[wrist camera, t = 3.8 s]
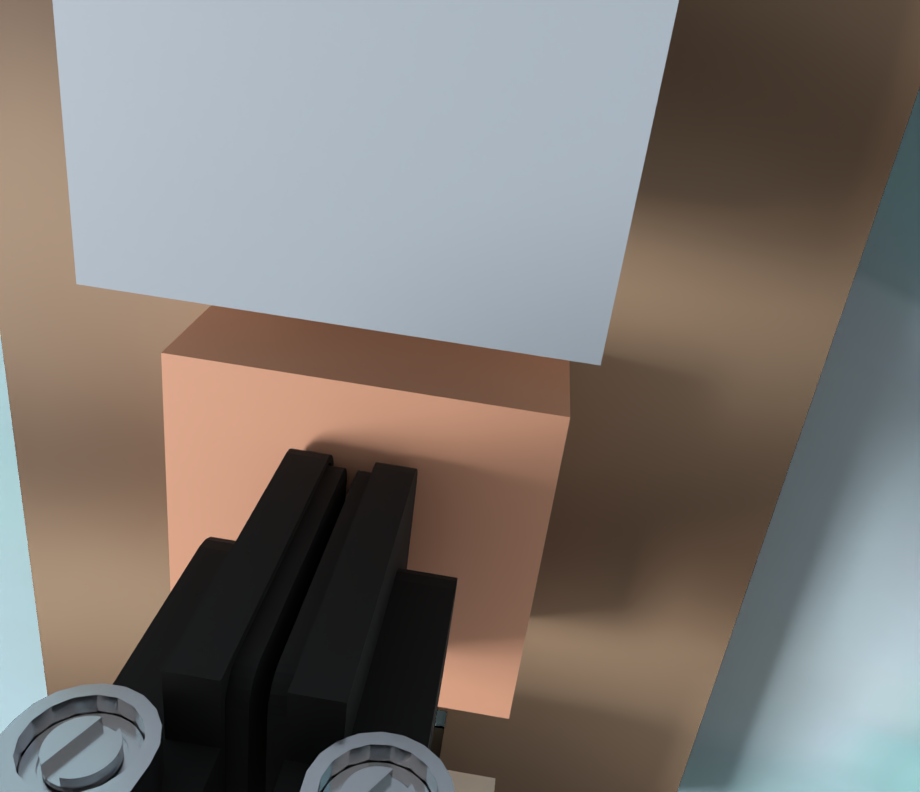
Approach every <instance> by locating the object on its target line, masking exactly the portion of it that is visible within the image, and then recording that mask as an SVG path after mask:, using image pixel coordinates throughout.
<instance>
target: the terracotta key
mask: <svg viewBox="0 0 920 792" xmlns="http://www.w3.org/2000/svg"><path fill="white" fill-rule="evenodd" d="M161 362H162V388H163V413H164V439H165V465H166V490H167V516H168V541H169V567H170V592H171V591H172V589H173V588H174V586H175V584H176V583H177V581H178V580H179V578H180V576H181V575H182V573H183V572H184V570H185V568H186V567H187V565H188V564H189V562H190V561H191V559H192V557H193V556H194V554H195V553H196V551H197V549H198V548H199V546H200V545H201V544H202V543H203V541H204V540H205V539H207V538H209V537H216V538H222V539H228V540H234V541H236V540H237V538H238V536H239V535H240V533H241V531H242V529H243V528H244V526H245V524H246V522H247V521H248V519H249V517H250V515H251V514H252V512H253V510H254V508H255V507H256V505H257V503H258V501H259V500H260V498H261V496H262V494H263V493H264V491H265V489H266V487H267V486H268V484H269V482H270V480H271V479H272V477H273V475H274V473H275V472H276V470H277V468H278V466H279V465H280V463H281V461H282V459H283V458H284V456H285V454H286V453H287V451H288V450H289V449H291V448H293V449H299V450H305V451H311V452H317V453H324V454H330V455H332V456H333V461H334V466H335V467H341V468H346V470H347V483H346V497H347V495H348V492H349V490H350V487H351V485H352V483H353V480H354V478H355V475H356V473H357V471H359V470H360V471H366V472H372V470H373V467H374V465H375V463H376V462H379V463H386V464H392V465H398V466H404V467H410V468H416V469H417V470H418V474H417V485H416V494H415V503H414V511H413V520H412V528H411V537H410V546H409V554H408V563H407V569H408V570H414V571H420V572H426V573H432V574H438V575H444V576H450V577H456V578H458V581H457V588H456V595H455V601H454V608H453V614H452V621H451V628H450V634H449V640H448V647H447V653H446V659H445V665H444V672H443V678H442V684H441V690H440V695H439V701H438V707H443V708H449V709H455V710H460V711H466V712H472V713H478V714H484V715H489V716H495V717H501V718H507V719H509V716H510V711H511V706H512V701H513V696H514V691H515V686H516V681H517V677H518V672H519V667H520V662H521V657H522V652H523V647H524V642H525V637H526V632H527V627H528V623H529V618H530V613H531V608H532V603H533V598H534V593H535V588H536V583H537V578H538V573H539V569H540V564H541V559H542V554H543V549H544V544H545V539H546V534H547V529H548V524H549V519H550V515H551V510H552V505H553V500H554V495H555V490H556V485H557V480H558V475H559V470H560V465H561V461H562V456H563V451H564V446H565V441H566V436H567V431H568V426H569V421H570V364H569V361H568V360H562V359H556V358H549V357H543V356H536V355H530V354H523V353H517V352H510V351H504V350H498V349H491V348H485V347H478V346H472V345H465V344H459V343H453V342H446V341H440V340H433V339H427V338H420V337H414V336H407V335H401V334H395V333H388V332H382V331H375V330H369V329H362V328H356V327H349V326H343V325H337V324H330V323H324V322H317V321H311V320H304V319H298V318H291V317H285V316H279V315H272V314H266V313H259V312H253V311H246V310H240V309H233V308H227V307H221V306H214V305H211V306H210V307H209V308H208V309H207V310H206V311H205V312H204V313H203V314H202V315H201V316H199V317H198V318H197V319H196V320H195V321H194V322H193V323H192V324H191V325H190V326H189V327H188V328H187V329H186V330H185V331H184V332H183V333H182V334H180V335H179V336H178V337H177V338H176V339H175V340H174V341H173V342H172V343H171V344H170V345H169V346H168V347H167V348H166V349H165V350H164V351H162V352H161ZM346 497H345V500H346Z"/></svg>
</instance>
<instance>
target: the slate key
mask: <svg viewBox="0 0 920 792" xmlns="http://www.w3.org/2000/svg"><path fill="white" fill-rule="evenodd" d="M52 2H53V13H54V25H55V37H56V49H57V61H58V73H59V84H60V96H61V108H62V120H63V132H64V143H65V155H66V167H67V179H68V191H69V203H70V214H71V226H72V238H73V250H74V262H75V274H76V284H79V285H85V286H92V287H98V288H105V289H111V290H117V291H124V292H130V293H137V294H143V295H150V296H156V297H163V298H169V299H175V300H182V301H188V302H195V303H201V304H208V305H214V306H221V307H227V308H233V309H240V310H246V311H253V312H259V313H266V314H272V315H279V316H285V317H291V318H298V319H304V320H311V321H317V322H324V323H330V324H337V325H343V326H349V327H356V328H362V329H369V330H375V331H382V332H388V333H395V334H401V335H407V336H414V337H420V338H427V339H433V340H440V341H446V342H453V343H459V344H465V345H472V346H478V347H485V348H491V349H498V350H504V351H510V352H517V353H523V354H530V355H536V356H543V357H549V358H556V359H562V360H568V361H575V362H581V363H588V364H594V365H601V361H602V356H603V352H604V347H605V342H606V338H607V333H608V328H609V324H610V319H611V314H612V310H613V305H614V300H615V296H616V291H617V287H618V282H619V277H620V273H621V268H622V263H623V259H624V254H625V249H626V245H627V240H628V235H629V231H630V226H631V221H632V217H633V212H634V207H635V203H636V198H637V194H638V189H639V184H640V180H641V175H642V170H643V166H644V161H645V156H646V152H647V147H648V142H649V138H650V133H651V128H652V124H653V119H654V115H655V110H656V105H657V101H658V96H659V91H660V87H661V82H662V77H663V73H664V68H665V63H666V59H667V54H668V49H669V45H670V40H671V35H672V31H673V26H674V22H675V17H676V12H677V8H678V3H679V0H52Z"/></svg>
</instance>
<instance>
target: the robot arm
mask: <svg viewBox="0 0 920 792" xmlns="http://www.w3.org/2000/svg"><path fill="white" fill-rule="evenodd" d="M417 474H418V470H417V469H416V468H410V467H404V466H398V465H392V464H386V463H379V462H376V463H375V465H374V467H373V470H372V472H366V471H360V470H359V471H357V473H356V475H355V478H354V480H353V483H352V485H351V487H350V490H349V492H348V495H347V497H346V483H347V470H346V468H341V467H335V466H334V461H333V456H332V455H330V454H324V453H317V452H311V451H305V450H299V449H293V448H291V449H289V450H288V451H287V453H286V454H285V456H284V458H283V459H282V461H281V463H280V465H279V466H278V468H277V470H276V472H275V473H274V475H273V477H272V479H271V480H270V482H269V484H268V486H267V487H266V489H265V491H264V493H263V494H262V496H261V498H260V500H259V501H258V503H257V505H256V507H255V508H254V510H253V512H252V514H251V515H250V517H249V519H248V521H247V522H246V524H245V526H244V528H243V529H242V531H241V533H240V535H239V536H238V538H237V540H236V541H234V540H228V539H222V538H216V537H209V538H207V539H205V540H204V541H203V543H202V544H201V545H200V546H199V548H198V549H197V551H196V553H195V554H194V556H193V557H192V559H191V561H190V562H189V564H188V565H187V567H186V568H185V570H184V572H183V573H182V575H181V576H180V578H179V580H178V581H177V583H176V584H175V586H174V588H173V589H172V591H171V592H170V594H169V595H168V597H167V599H166V600H165V602H164V603H163V605H162V607H161V608H160V610H159V611H158V613H157V615H156V616H155V618H154V619H153V621H152V622H151V624H150V626H149V627H148V629H147V630H146V632H145V634H144V635H143V637H142V638H141V640H140V642H139V643H138V645H137V646H136V648H135V649H134V651H133V653H132V654H131V656H130V657H129V659H128V661H127V662H126V664H125V665H124V667H123V668H122V670H121V672H120V673H119V675H118V676H117V678H116V680H115V681H114V683H113V684H106V683H102V684H87V685H79V686H75V687H72V688H68V689H65V690H61V691H58V692H55V693H53V694H51V695H49V696H47V697H45V698H43V699H41V700H39V701H38V702H36V703H34V704H32V705H31V706H30V707H29V708H28V709H26V710H25V711H24V712H23V713H21V714H20V715H19V716H18V717H17V718H15V719H14V720H13V721H12V722H11V723H10V724H9V725H8V727H7V728H6V729H5V730H4V731H3V732H2V733H1V734H0V792H455V791H454V786H453V781H452V777H451V776H450V774H449V772H448V771H447V769H446V768H445V766H444V764H443V763H442V761H441V759H439V758H438V757H437V756H436V755H435V754H434V753H433V752H431V751H430V748H431V742H432V736H433V730H434V725H435V719H436V713H437V707H438V701H439V695H440V690H441V684H442V678H443V672H444V665H445V659H446V653H447V647H448V640H449V634H450V628H451V621H452V614H453V608H454V601H455V595H456V588H457V581H458V578H456V577H450V576H444V575H438V574H432V573H426V572H420V571H414V570H408V569H407V563H408V554H409V546H410V537H411V528H412V520H413V511H414V503H415V494H416V485H417ZM345 497H346V500H345Z"/></svg>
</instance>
